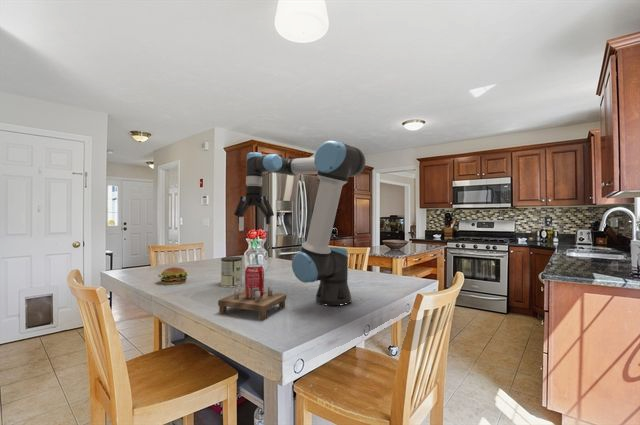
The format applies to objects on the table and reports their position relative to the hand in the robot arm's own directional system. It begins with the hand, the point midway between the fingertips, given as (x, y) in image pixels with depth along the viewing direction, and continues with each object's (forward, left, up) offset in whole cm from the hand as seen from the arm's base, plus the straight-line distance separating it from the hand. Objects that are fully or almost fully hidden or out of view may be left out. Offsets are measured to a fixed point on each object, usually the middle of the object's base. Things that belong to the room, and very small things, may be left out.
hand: (253, 231), depth 145 cm
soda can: (-16, +24, -24) cm, 38 cm away
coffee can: (+18, -8, -29) cm, 35 cm away
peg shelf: (-16, +24, -29) cm, 41 cm away
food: (+50, -1, -29) cm, 58 cm away
